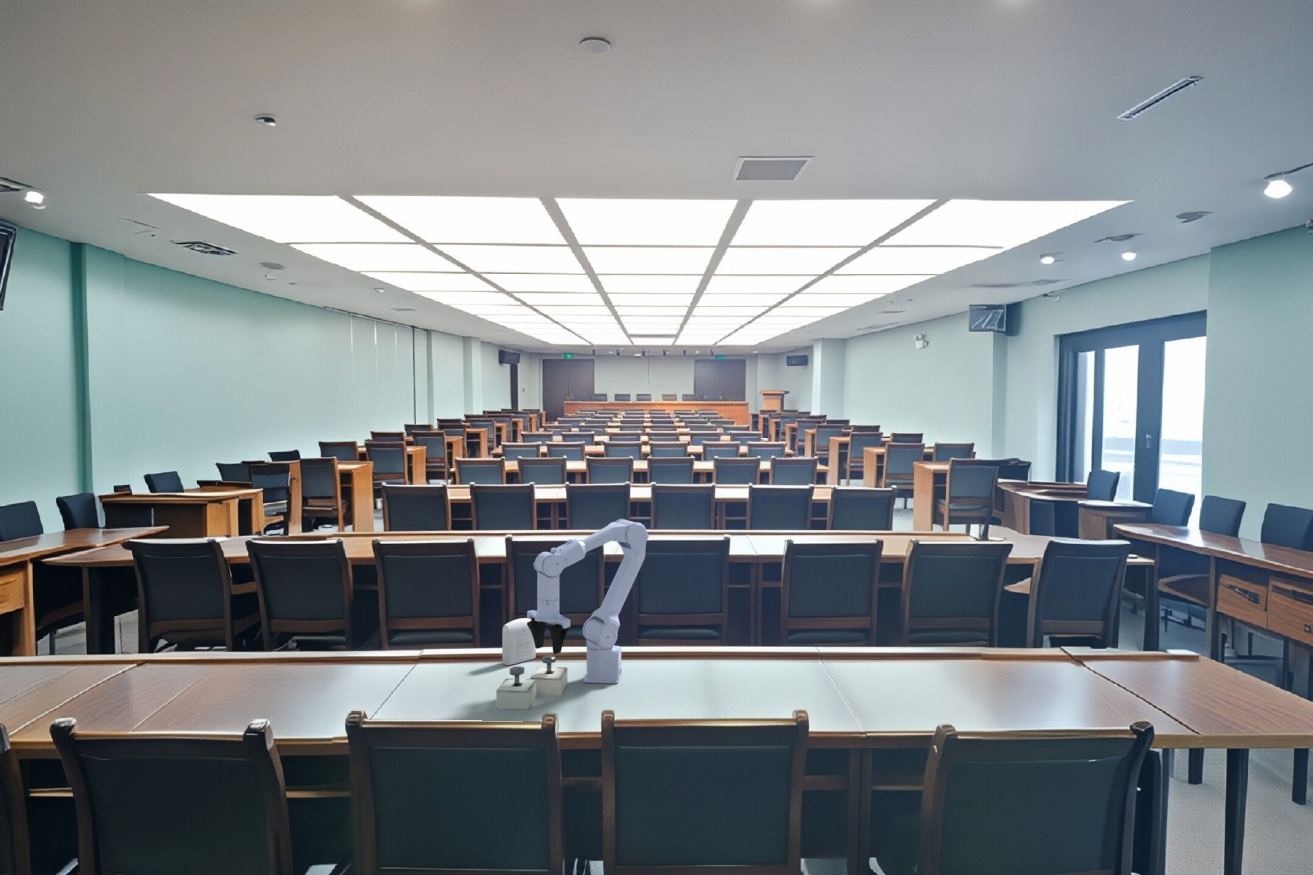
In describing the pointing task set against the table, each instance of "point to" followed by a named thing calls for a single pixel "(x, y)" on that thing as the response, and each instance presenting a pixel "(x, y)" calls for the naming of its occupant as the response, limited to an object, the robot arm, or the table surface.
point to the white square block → (550, 681)
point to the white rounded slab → (517, 642)
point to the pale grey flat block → (516, 694)
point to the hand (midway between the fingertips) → (548, 650)
